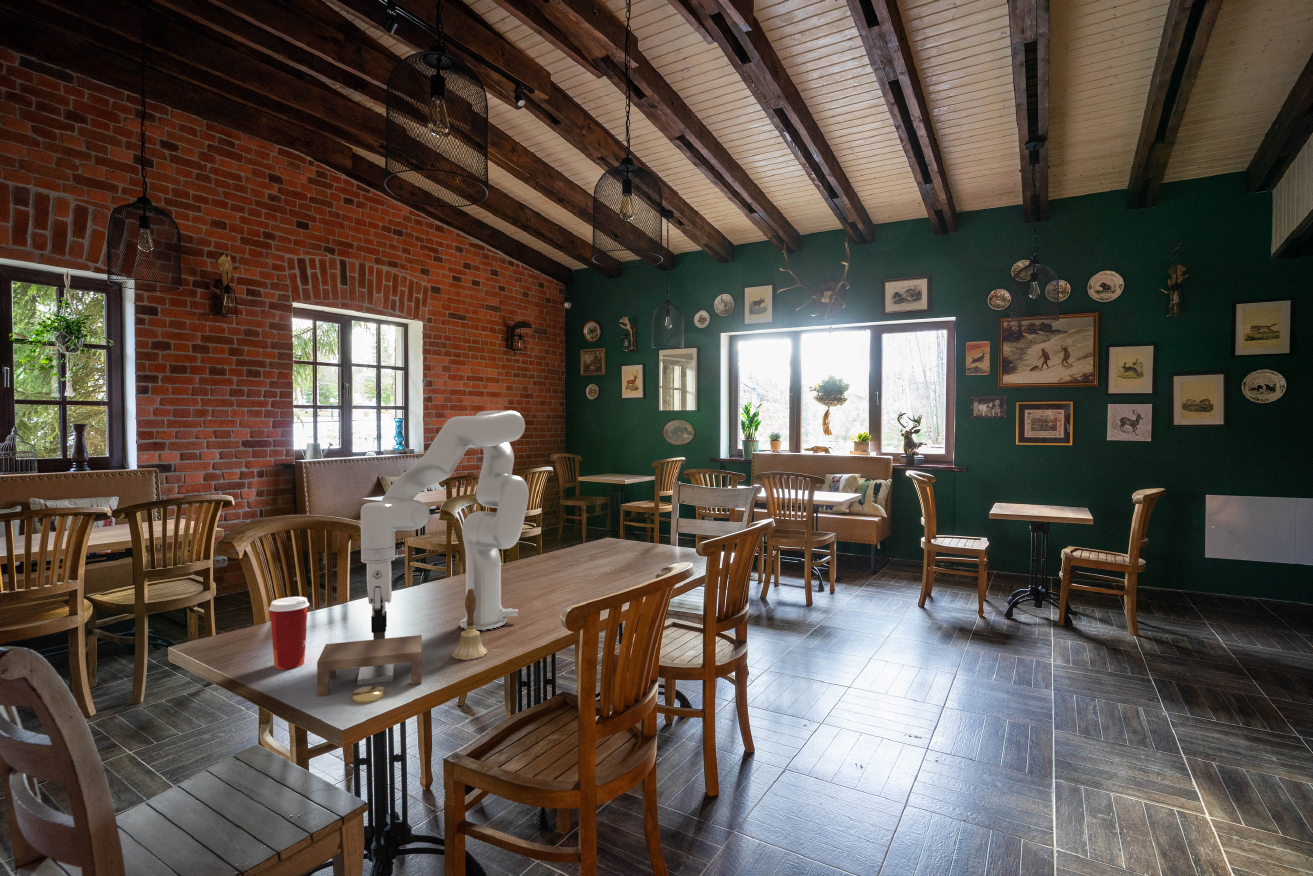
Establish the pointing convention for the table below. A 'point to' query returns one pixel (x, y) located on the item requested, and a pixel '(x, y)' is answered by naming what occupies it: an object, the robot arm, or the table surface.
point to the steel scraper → (376, 669)
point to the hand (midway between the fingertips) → (379, 629)
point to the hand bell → (469, 634)
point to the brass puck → (367, 694)
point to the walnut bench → (368, 657)
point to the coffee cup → (289, 631)
